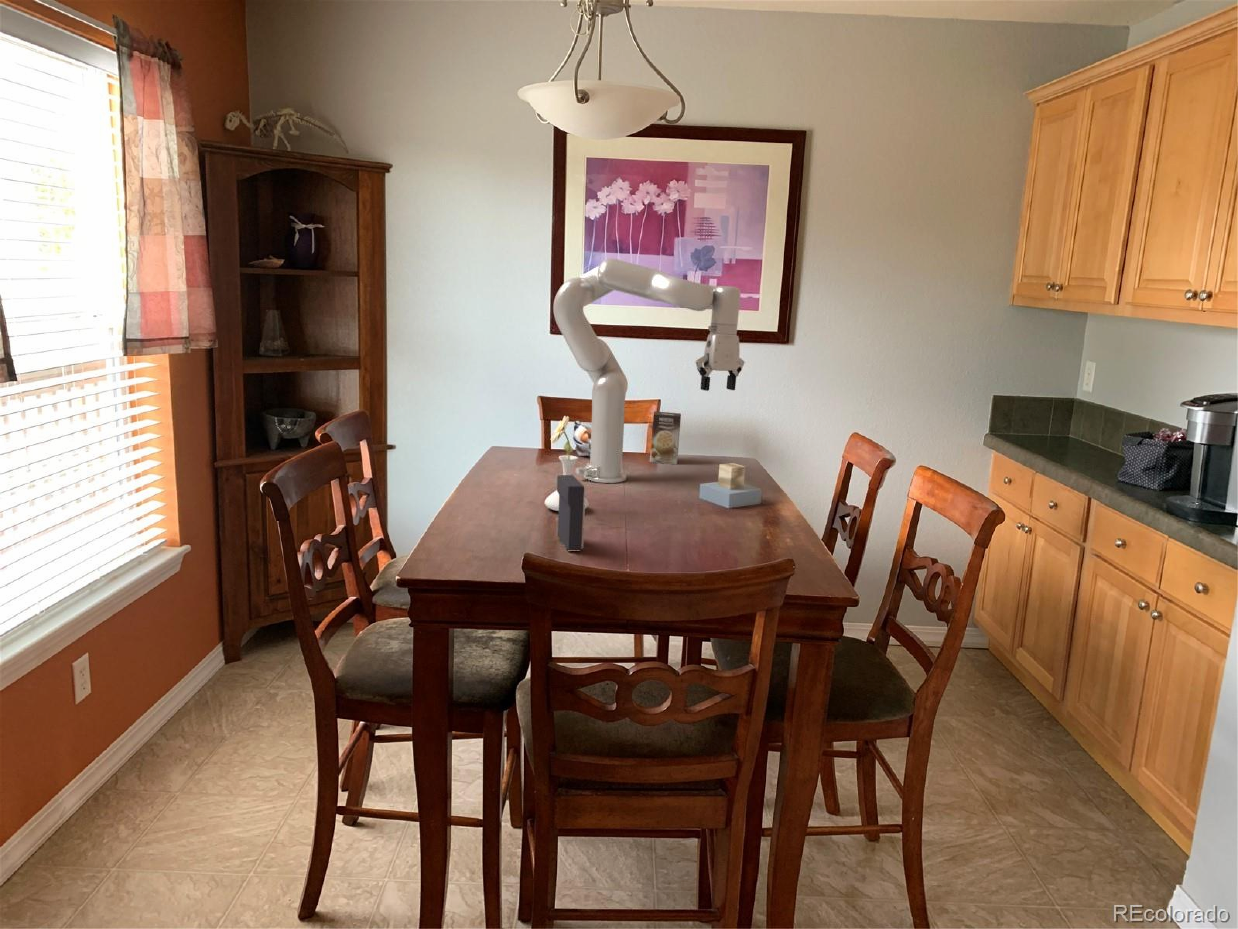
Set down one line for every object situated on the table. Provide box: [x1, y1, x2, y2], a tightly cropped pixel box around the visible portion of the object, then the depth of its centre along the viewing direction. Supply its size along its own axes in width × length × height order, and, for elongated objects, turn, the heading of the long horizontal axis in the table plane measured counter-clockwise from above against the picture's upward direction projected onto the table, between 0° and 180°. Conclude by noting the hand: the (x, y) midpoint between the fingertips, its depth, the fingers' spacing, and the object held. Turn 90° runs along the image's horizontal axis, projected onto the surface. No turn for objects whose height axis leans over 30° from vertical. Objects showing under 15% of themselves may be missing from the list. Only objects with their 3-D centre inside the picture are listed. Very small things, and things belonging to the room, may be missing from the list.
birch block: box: [717, 462, 746, 490], centre depth 251 cm, size 5×5×6 cm
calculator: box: [556, 474, 586, 551], centre depth 204 cm, size 11×4×15 cm, turn 17°
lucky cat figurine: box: [572, 420, 592, 457], centre depth 300 cm, size 15×12×14 cm
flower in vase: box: [544, 415, 590, 512], centre depth 231 cm, size 13×11×25 cm
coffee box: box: [649, 411, 682, 465], centre depth 297 cm, size 9×6×16 cm
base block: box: [698, 481, 763, 509], centre depth 252 cm, size 12×12×4 cm
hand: (717, 389), depth 263 cm, fingers open, 9 cm apart
